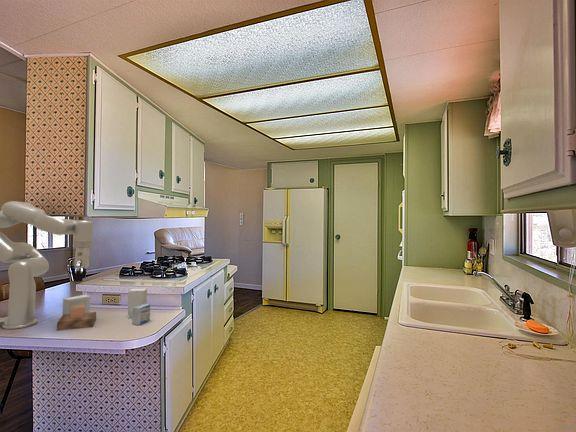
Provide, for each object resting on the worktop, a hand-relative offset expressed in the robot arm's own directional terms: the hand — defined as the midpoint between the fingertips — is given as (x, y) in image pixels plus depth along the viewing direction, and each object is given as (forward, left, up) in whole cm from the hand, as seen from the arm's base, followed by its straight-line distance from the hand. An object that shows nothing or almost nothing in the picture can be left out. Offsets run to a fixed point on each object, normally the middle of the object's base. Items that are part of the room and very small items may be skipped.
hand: (80, 279), depth 145 cm
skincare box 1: (-3, +15, -22) cm, 27 cm away
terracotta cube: (0, 0, -18) cm, 18 cm away
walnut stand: (0, 0, -22) cm, 22 cm away
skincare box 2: (+26, +5, -22) cm, 35 cm away
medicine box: (+28, -7, -22) cm, 37 cm away
